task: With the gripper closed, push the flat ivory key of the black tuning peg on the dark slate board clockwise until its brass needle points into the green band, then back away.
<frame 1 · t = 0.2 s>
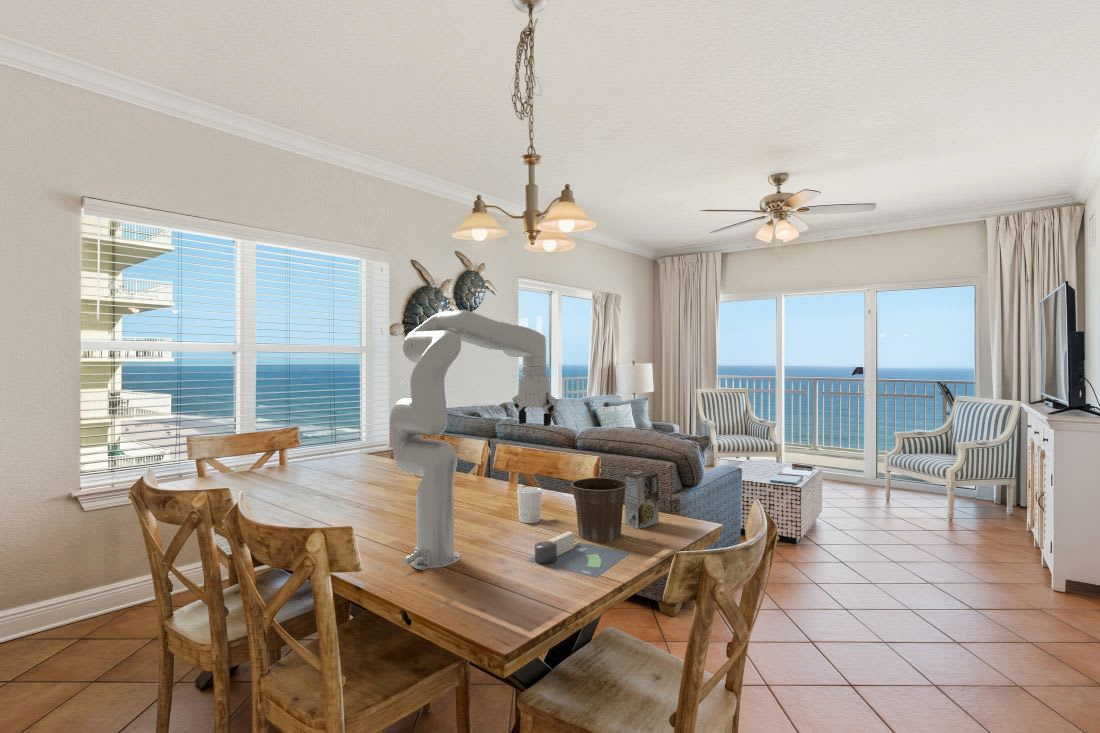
hand: (534, 424, 178), 31 cm above the table, tool pointing down, fingers open, 9 cm apart
plant pot: (599, 538, 159), on the table
white cup: (529, 521, 176), on the table
coffee box: (641, 524, 172), on the table
peg dial: (559, 544, 144), point 3 cm above the table, hinge at -5.0°
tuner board: (579, 560, 142), on the table
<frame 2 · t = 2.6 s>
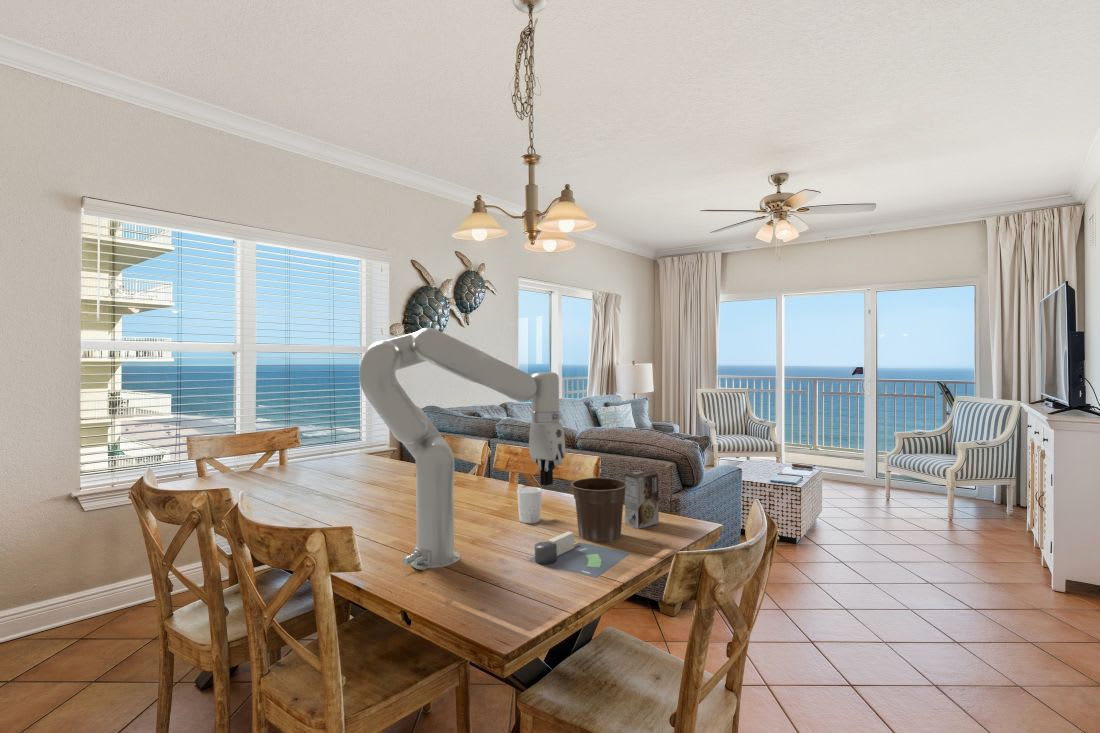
hand: (546, 484, 149), 18 cm above the table, tool pointing down, fingers closed
nothing on the table moved.
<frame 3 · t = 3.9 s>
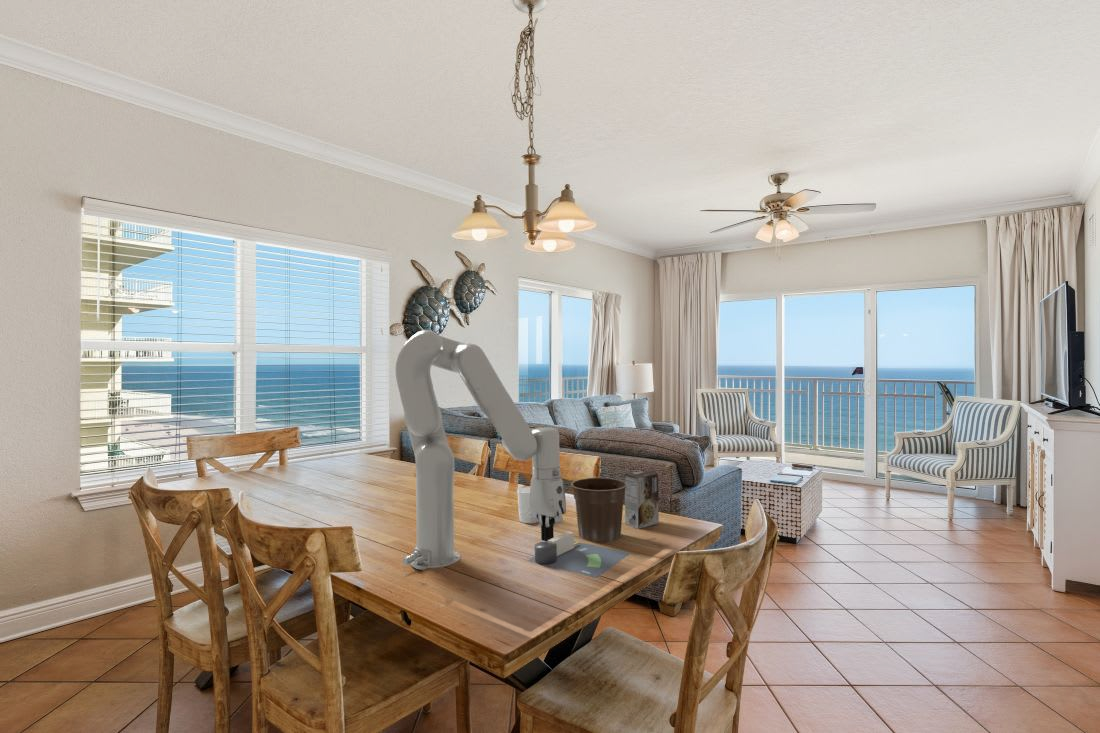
hand: (547, 539, 149), 3 cm above the table, tool pointing down, fingers closed
nothing on the table moved.
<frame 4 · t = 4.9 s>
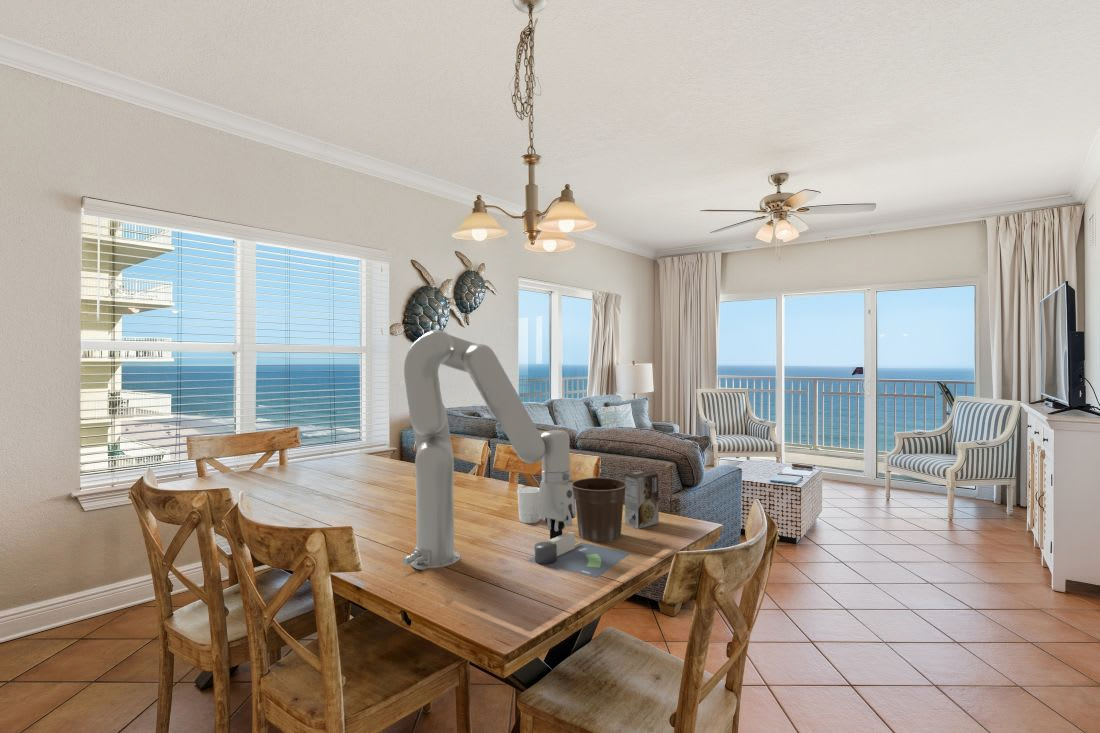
hand: (556, 543, 147), 2 cm above the table, tool pointing down, fingers closed
peg dial: (560, 545, 144), point 3 cm above the table, hinge at -7.1°, touching gripper
everything else where it was.
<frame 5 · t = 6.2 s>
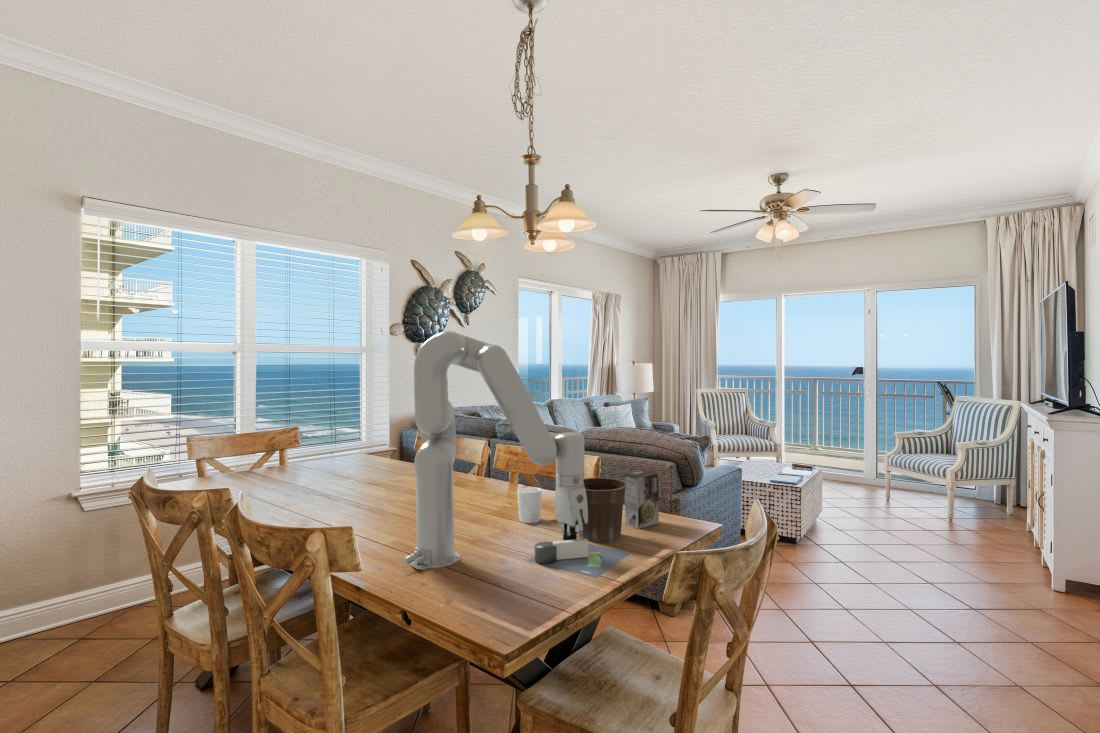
hand: (569, 548, 144), 2 cm above the table, tool pointing down, fingers closed
peg dial: (567, 549, 140), point 3 cm above the table, hinge at -44.1°, touching gripper
everything else where it was.
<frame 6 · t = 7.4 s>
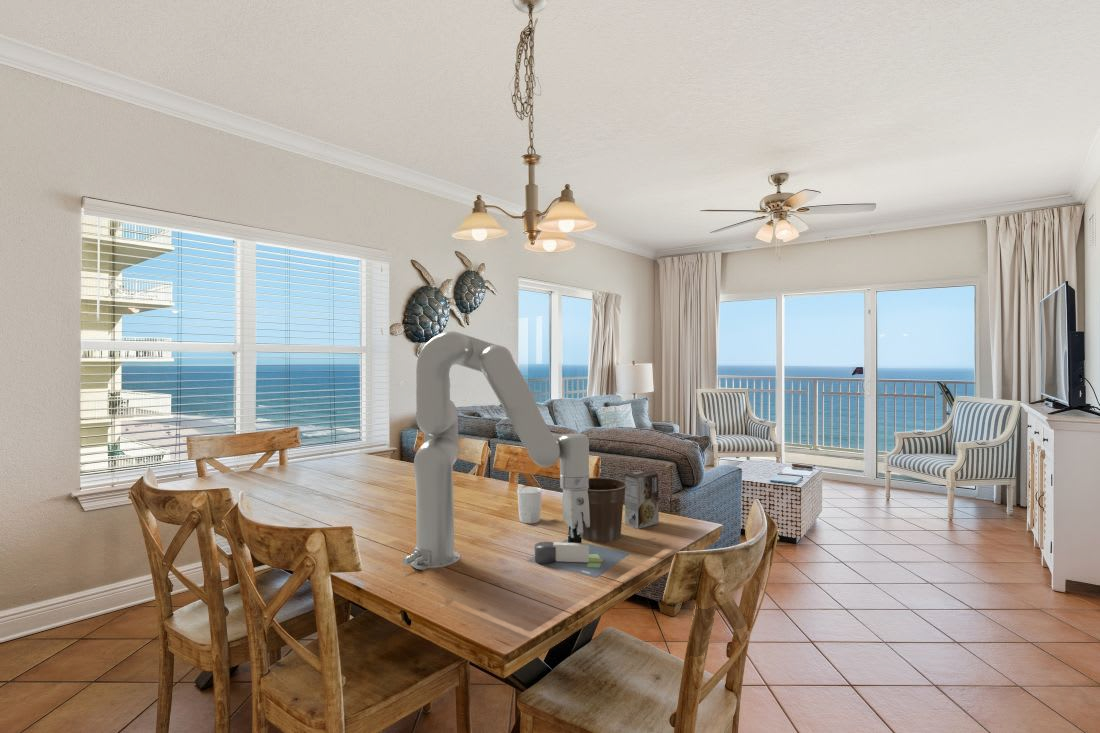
hand: (574, 551, 142), 2 cm above the table, tool pointing down, fingers closed
peg dial: (568, 552, 139), point 3 cm above the table, hinge at -63.3°
everything else where it was.
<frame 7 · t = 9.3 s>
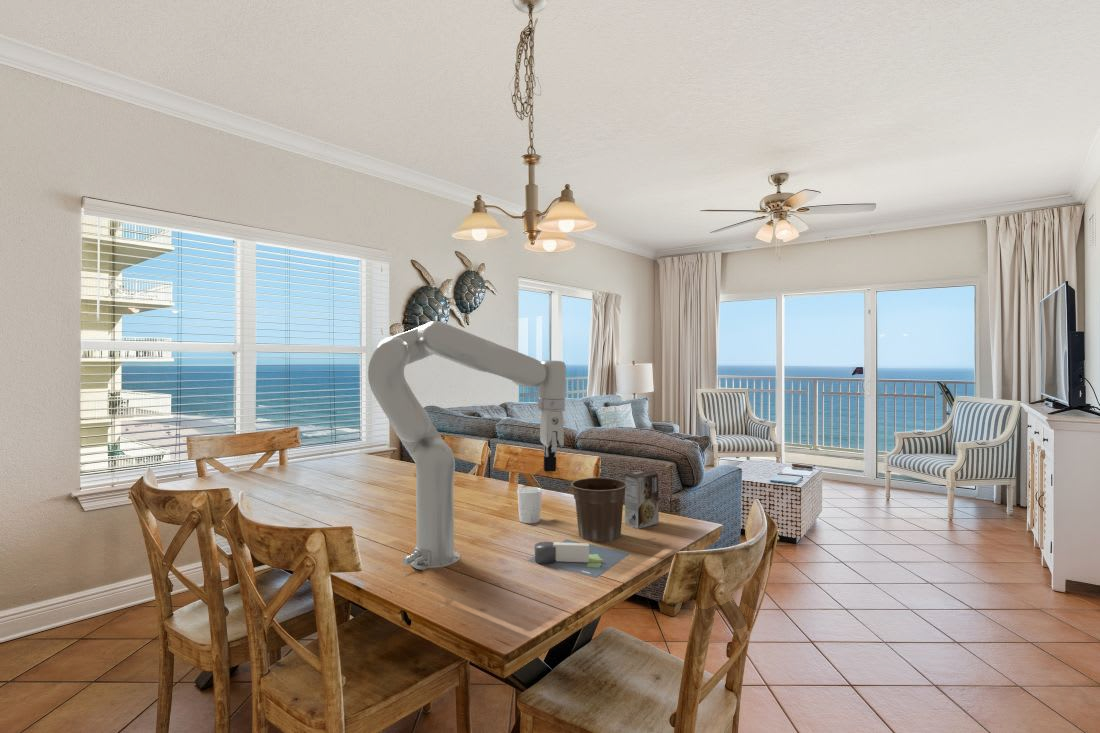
hand: (549, 470, 151), 21 cm above the table, tool pointing down, fingers closed
nothing on the table moved.
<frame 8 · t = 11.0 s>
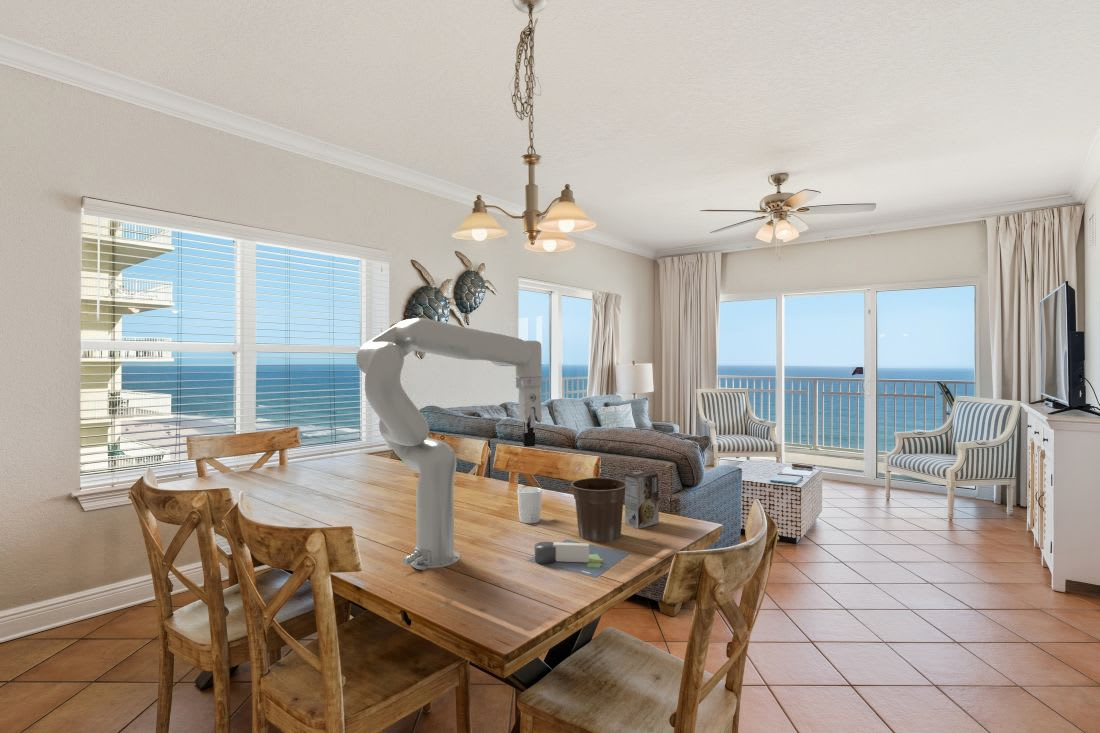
hand: (529, 445, 159), 27 cm above the table, tool pointing down, fingers closed
nothing on the table moved.
at the end: peg dial at -63° (first picture: -5°) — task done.
